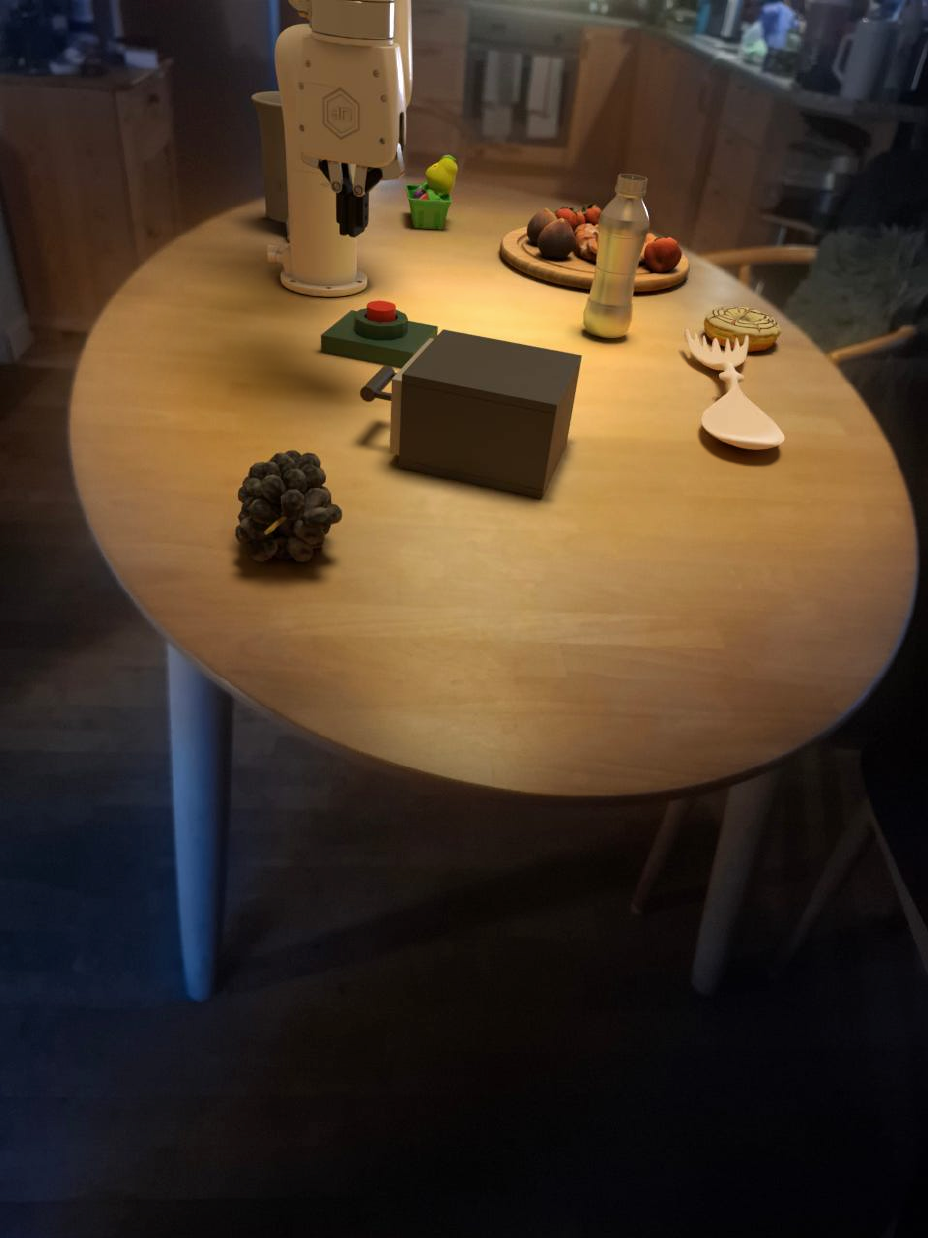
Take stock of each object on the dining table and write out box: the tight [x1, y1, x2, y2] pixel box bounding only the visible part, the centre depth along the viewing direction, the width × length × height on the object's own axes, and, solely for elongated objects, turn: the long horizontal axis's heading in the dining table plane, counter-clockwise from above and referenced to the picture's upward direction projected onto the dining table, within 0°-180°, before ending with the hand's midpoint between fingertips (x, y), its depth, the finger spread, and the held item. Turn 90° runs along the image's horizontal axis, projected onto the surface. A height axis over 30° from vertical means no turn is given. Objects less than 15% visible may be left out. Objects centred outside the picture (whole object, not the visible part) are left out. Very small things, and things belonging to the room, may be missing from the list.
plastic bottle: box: [582, 173, 651, 339], centre depth 113 cm, size 6×7×20 cm
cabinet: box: [397, 329, 583, 500], centre depth 86 cm, size 15×13×10 cm
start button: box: [366, 300, 397, 322], centre depth 107 cm, size 4×4×2 cm
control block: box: [320, 307, 439, 369], centre depth 108 cm, size 12×10×4 cm
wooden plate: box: [499, 203, 691, 293], centre depth 143 cm, size 32×32×8 cm
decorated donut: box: [703, 306, 782, 353], centre depth 121 cm, size 10×11×4 cm
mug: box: [250, 90, 290, 243], centre depth 141 cm, size 19×15×25 cm
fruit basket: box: [405, 154, 459, 230], centre depth 154 cm, size 11×9×11 cm
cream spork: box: [683, 327, 785, 451], centre depth 104 cm, size 9×32×4 cm, turn 174°
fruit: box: [234, 449, 343, 563], centre depth 73 cm, size 9×8×15 cm
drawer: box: [359, 338, 434, 457], centre depth 87 cm, size 18×12×8 cm, turn 74°
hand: (352, 232), depth 90 cm, fingers closed
